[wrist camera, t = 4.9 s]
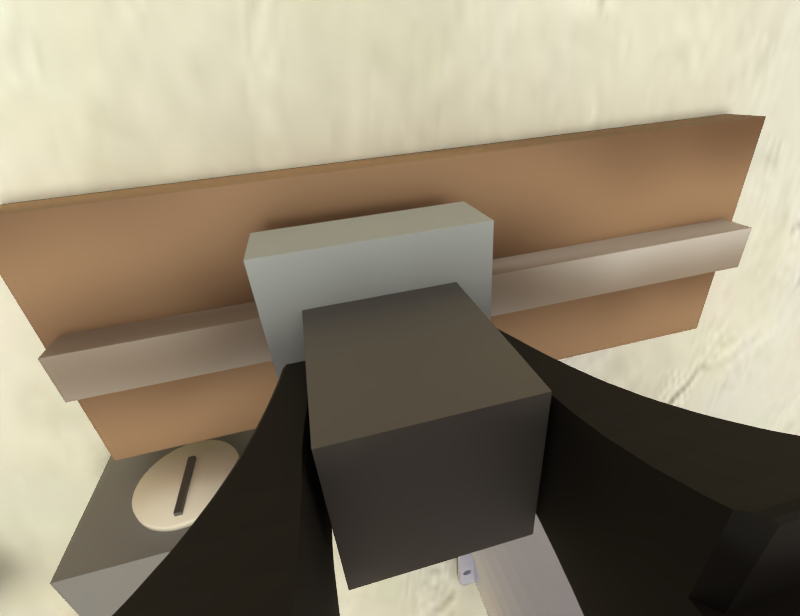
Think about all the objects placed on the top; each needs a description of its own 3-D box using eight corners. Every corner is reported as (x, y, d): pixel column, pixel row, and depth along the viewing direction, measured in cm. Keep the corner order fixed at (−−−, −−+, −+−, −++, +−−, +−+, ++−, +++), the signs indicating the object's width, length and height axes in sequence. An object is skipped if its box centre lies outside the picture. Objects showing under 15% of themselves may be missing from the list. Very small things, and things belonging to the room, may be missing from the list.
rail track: (670, 313, 20) (720, 341, 18) (128, 431, 16) (101, 488, 14) (727, 114, 16) (802, 118, 14) (1, 204, 12) (-70, 233, 9)
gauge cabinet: (320, 527, 22) (328, 636, 17) (179, 565, 20) (151, 692, 16) (285, 407, 17) (285, 511, 13) (106, 446, 16) (42, 575, 12)
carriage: (464, 388, 15) (566, 560, 10) (302, 425, 14) (312, 641, 9) (463, 201, 12) (621, 301, 6) (250, 233, 11) (211, 386, 5)
